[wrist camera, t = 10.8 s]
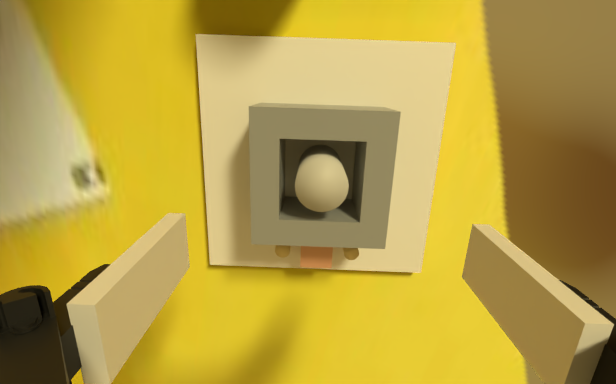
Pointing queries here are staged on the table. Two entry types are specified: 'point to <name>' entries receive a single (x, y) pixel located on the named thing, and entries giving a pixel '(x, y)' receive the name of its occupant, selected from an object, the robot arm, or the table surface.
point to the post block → (320, 153)
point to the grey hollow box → (289, 210)
